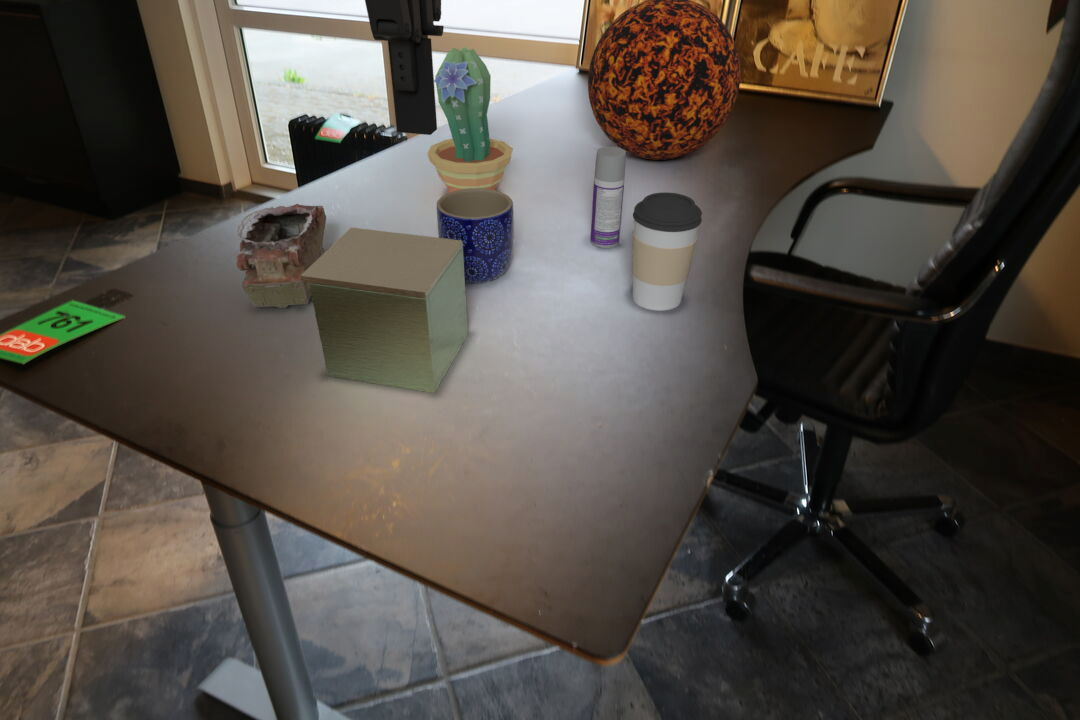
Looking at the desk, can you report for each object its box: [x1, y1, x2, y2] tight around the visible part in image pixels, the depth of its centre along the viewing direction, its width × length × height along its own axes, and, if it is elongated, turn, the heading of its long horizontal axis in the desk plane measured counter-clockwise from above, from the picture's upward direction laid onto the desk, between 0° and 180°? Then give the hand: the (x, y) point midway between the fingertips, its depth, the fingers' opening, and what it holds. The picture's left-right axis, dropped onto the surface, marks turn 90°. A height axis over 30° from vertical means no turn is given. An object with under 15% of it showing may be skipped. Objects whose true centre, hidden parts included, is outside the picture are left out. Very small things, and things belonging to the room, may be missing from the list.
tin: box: [309, 247, 469, 394], centre depth 84 cm, size 14×13×13 cm
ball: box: [587, 0, 742, 161], centre depth 139 cm, size 30×30×30 cm
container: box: [590, 146, 627, 249], centre depth 110 cm, size 5×5×15 cm
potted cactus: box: [426, 46, 514, 193], centre depth 123 cm, size 15×15×25 cm
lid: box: [301, 226, 463, 298], centre depth 81 cm, size 14×13×1 cm
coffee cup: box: [631, 191, 703, 312], centre depth 96 cm, size 9×9×15 cm
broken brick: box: [235, 203, 327, 309], centre depth 101 cm, size 13×20×10 cm, turn 177°
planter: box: [435, 188, 515, 284], centre depth 103 cm, size 11×11×11 cm
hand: (417, 130), depth 54 cm, fingers closed
